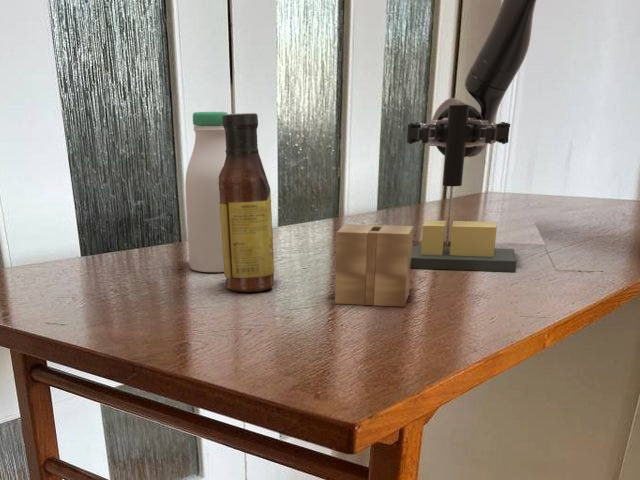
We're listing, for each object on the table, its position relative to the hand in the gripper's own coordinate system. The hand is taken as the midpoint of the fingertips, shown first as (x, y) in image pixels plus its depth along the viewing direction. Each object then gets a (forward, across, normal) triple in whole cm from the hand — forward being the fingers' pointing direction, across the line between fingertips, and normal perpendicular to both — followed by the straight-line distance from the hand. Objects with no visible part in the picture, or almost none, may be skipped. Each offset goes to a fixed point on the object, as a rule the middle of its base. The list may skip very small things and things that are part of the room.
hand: (456, 134), depth 103 cm
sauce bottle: (+24, -24, +17) cm, 37 cm away
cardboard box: (+27, -8, +17) cm, 32 cm away
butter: (+2, +2, +17) cm, 17 cm away
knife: (+2, 0, +15) cm, 15 cm away
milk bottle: (+12, -31, +17) cm, 38 cm away
